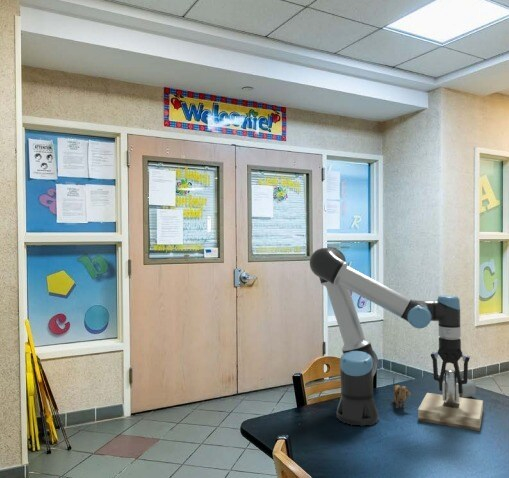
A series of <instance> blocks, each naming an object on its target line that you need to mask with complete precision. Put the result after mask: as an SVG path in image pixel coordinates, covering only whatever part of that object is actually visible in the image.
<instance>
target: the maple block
mask: <svg viewBox="0 0 509 478" xmlns="http://www.w3.org/2000/svg"><path fill="white" fill-rule="evenodd" d="M483 414H484V400H481V399H475V398H474V399H473V398H469V397H466V398H461V397H459V403H457V408H452V407H445V401H443V394H439V393H433V392H431V393H430V392H426V394H425V396H424V398H423V399H422V401H421V404H420V405H419V407H418V409H417V419H418V421H419V422H426V423H430V424H431V423H432V424H437V425H443V426H448V427H454V428H460V429H467V430H472V431H479V432H480V431H481V426H482V421H483V416H484V415H483Z"/></svg>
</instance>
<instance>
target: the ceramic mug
mask: <svg viewBox="0 0 509 478" xmlns="http://www.w3.org/2000/svg"><path fill="white" fill-rule="evenodd" d="M462 380H463V378H462ZM456 383H458V381H457V378H456ZM476 392H477V386H476V384H475V383H474V381H473V380H471V379H469V378H468V381H467V384H463V385H462V393H459V397H461V398H470V397H471V398H472V397H473V396H474V395H476Z"/></svg>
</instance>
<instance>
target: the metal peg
mask: <svg viewBox="0 0 509 478" xmlns="http://www.w3.org/2000/svg"><path fill="white" fill-rule="evenodd" d="M456 379H457V377H456V373H455V369H451V368H450V369H445V374H444V381H445V407H452V408H457V403H456V384H457V383H456Z"/></svg>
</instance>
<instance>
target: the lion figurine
mask: <svg viewBox="0 0 509 478" xmlns="http://www.w3.org/2000/svg"><path fill="white" fill-rule="evenodd" d="M411 394H412V392H410V391H409V389H407V386H404V385H399V384H397V385H395V386H394V387H393V400H392V403H395V405H396V406H395V408H396V409H399V408H400V404H399V402H401V407H402V408H403V409H404V408H406V405H405V400H406V399H407V397H408V398H410V396H411Z"/></svg>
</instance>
